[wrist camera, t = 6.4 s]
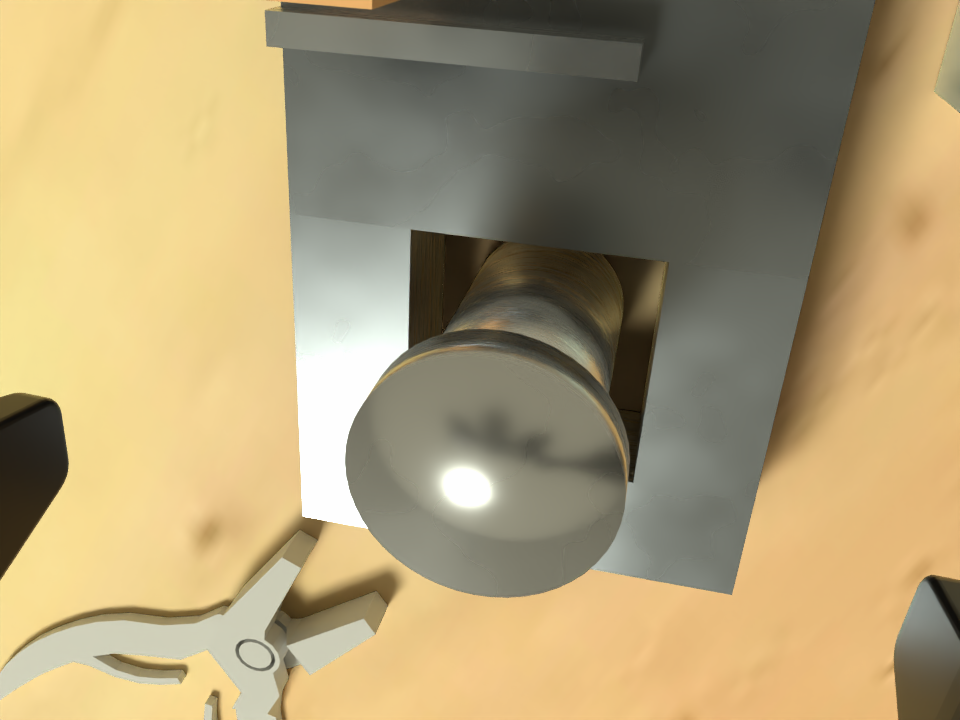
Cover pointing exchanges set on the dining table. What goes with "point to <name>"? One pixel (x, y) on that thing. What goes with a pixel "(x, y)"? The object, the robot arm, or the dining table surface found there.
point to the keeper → (345, 3)
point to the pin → (501, 431)
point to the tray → (951, 67)
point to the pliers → (214, 639)
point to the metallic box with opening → (571, 213)
